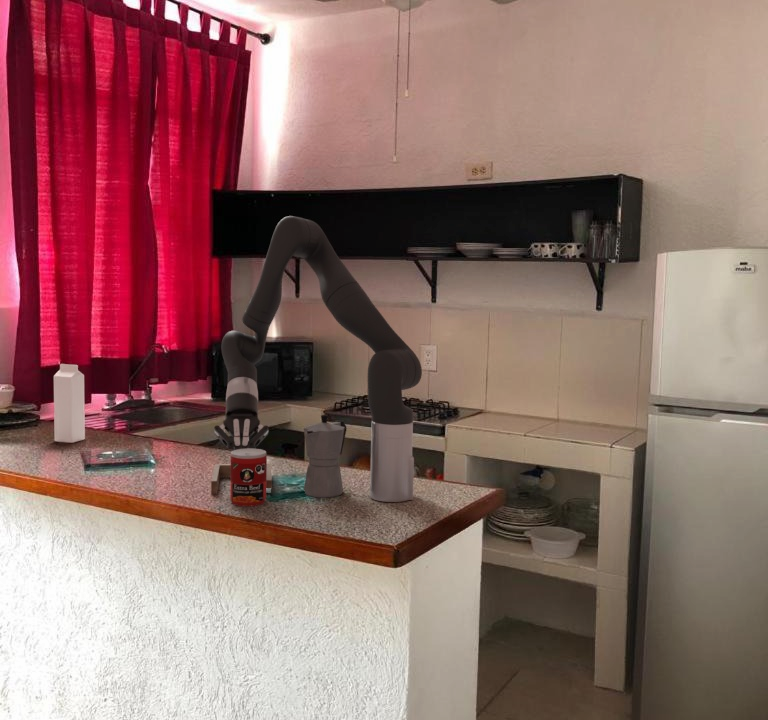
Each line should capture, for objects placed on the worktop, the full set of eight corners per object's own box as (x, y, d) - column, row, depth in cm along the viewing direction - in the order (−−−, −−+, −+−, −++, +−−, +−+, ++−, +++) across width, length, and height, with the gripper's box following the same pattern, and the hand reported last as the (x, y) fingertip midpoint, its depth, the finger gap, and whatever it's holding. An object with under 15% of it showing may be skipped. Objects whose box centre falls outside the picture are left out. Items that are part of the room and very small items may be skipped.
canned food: (228, 506, 184) (228, 455, 182) (232, 496, 192) (232, 447, 190) (264, 506, 184) (265, 455, 183) (267, 497, 192) (267, 448, 191)
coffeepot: (324, 502, 189) (325, 420, 187) (289, 495, 194) (290, 416, 192) (361, 487, 202) (362, 411, 201) (327, 482, 207) (328, 407, 205)
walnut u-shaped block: (270, 475, 212) (270, 463, 212) (271, 493, 195) (271, 480, 195) (214, 476, 210) (214, 464, 210) (211, 494, 193) (211, 481, 193)
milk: (67, 437, 254) (66, 362, 252) (85, 439, 252) (84, 363, 250) (54, 441, 248) (53, 364, 246) (72, 443, 246) (71, 365, 244)
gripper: (213, 391, 202) (210, 453, 191) (270, 391, 204) (271, 453, 193) (214, 409, 208) (211, 471, 197) (269, 410, 210) (270, 471, 199)
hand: (241, 462), depth 195 cm, fingers closed
